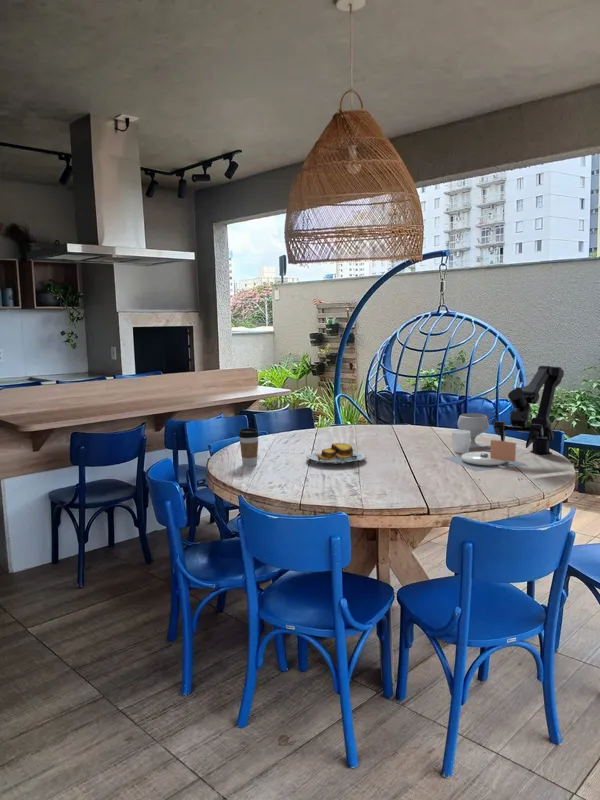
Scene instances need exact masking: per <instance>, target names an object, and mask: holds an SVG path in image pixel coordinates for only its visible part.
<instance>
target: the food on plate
mask: <svg viewBox="0 0 600 800" xmlns="http://www.w3.org/2000/svg"><path fill="white" fill-rule="evenodd" d="M308 459H309V460H312V461H315V464H317V463H321V464H322V463H323V464H330V463H331V464H334V465H335V464H336V465H337V464H345V463H346V462H350V463H354V462H361V461H363V460H367V455H365V454H362V453H356V452H354V448H353V447H352V445H350V444H348V443H340V442H339V443H331V447H328V448H323V449H321V452H317V453H311V454H308V455H307V456H306V461H308Z"/></svg>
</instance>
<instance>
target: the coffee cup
mask: <svg viewBox="0 0 600 800" xmlns="http://www.w3.org/2000/svg"><path fill="white" fill-rule="evenodd" d="M238 437H239V448H240V454H241V461H242V466H243V467H247V466H249V467H250V466H251V467H255V465H256V466H257V464H258V450H259V437H260V435H259V430H258V429H255V428H250V427H249V428H241V429H239V434H238ZM251 467H250V468H251Z"/></svg>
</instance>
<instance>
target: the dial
mask: <svg viewBox="0 0 600 800" xmlns="http://www.w3.org/2000/svg"><path fill="white" fill-rule="evenodd" d="M490 450H491V451H486V452H481V451H469V452H467V453H461V456H462V460H463V461H464V462H467V463H471V464H477V465H500V464H504V463H506V462H507V461H513V462H514V461H516V450H517V443H516V442H512V441H506V440H505V441H501V440H497V439H491V440H490Z"/></svg>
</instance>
